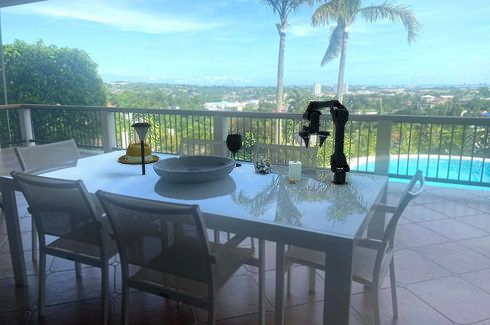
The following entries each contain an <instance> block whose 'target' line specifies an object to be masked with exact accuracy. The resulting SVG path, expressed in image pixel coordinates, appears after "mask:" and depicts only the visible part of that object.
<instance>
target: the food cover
mask: <svg viewBox="0 0 490 325" xmlns="http://www.w3.org/2000/svg"><path fill="white" fill-rule="evenodd" d="M302 166H303V165H302V162H301V160H300V161H297V160H293V161H292V160H289V161H288V175H287V176H288V179H289V178H296V181H301V177H302Z"/></svg>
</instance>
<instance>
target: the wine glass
mask: <svg viewBox="0 0 490 325" xmlns="http://www.w3.org/2000/svg"><path fill="white" fill-rule="evenodd" d="M225 143H226V144H225V145H226V148H227V149H228V150H229V152H230V153H231V154H232V156H233V159H234V160H235V161H236V158H235V157H236V154H237V153H238V152H239V151H240V150H241V149H242V145H243V138H242V134H237V133H231V134H227V135H226V138H225ZM233 159H232V160H233ZM235 163H236V167H235V168H239V167H242V163H238V162H235Z"/></svg>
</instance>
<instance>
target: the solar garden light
mask: <svg viewBox="0 0 490 325" xmlns="http://www.w3.org/2000/svg"><path fill="white" fill-rule="evenodd" d="M130 127H131V128H134V131H135V132H136V134H137V136H138V138H139V140H140V143H141V158H142V164H141V174H142V176H146V163H145V155H144V143H145V139H146V136H147V134H148V132H149V128H152V127H153V125H152V124H150V123H148V122H144V121H143V122H142V121H141V122H134V123H133V124H132V125H130Z"/></svg>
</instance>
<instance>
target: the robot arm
mask: <svg viewBox="0 0 490 325" xmlns="http://www.w3.org/2000/svg"><path fill="white" fill-rule="evenodd" d="M324 109H329V114H330V115H331V118H332V120H331V121H332V122H333V124H334V146H333V147H334V150H333V154H330V156H329V158H330V159H329V165H330V171H331V173H333V180H331V183H332V184H333V183H334V184H335V185H347V184H348V181H346V178H347V173H350V170H351V168H350V165H349V164H348V161H347V160H348V159H347V156H346V154H345V132H346V131H345V129H346V124H347V123H348V121H349V116H350V112H349V110H348V109H347V107H346V106H345V105H343V104H342V103H341V102H340V100H338V99H330V100H324V101H323V100H310V101H309V103H308V105H307V108H306V109H305V111H304V112H303V113H302V119H303V121H306V122H309V123H308V125H301V126H302V127H301V129H302V131H301V130H300V131H299V132H298V133H297V134H298V137H299V138H302V140H303V143H304V145H305V149H308V148H309V141H310V137H309V136H318V137H319V144H318V145H319V146H318V147H319V148H322V146H323V145H324V142H325V141H326V140H327V138H328V137H330V136H331V132H330V131H328V130H320V127H321V126H322V124H321V116H322V115H323V113H322V112H321V111H323V110H324Z"/></svg>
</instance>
